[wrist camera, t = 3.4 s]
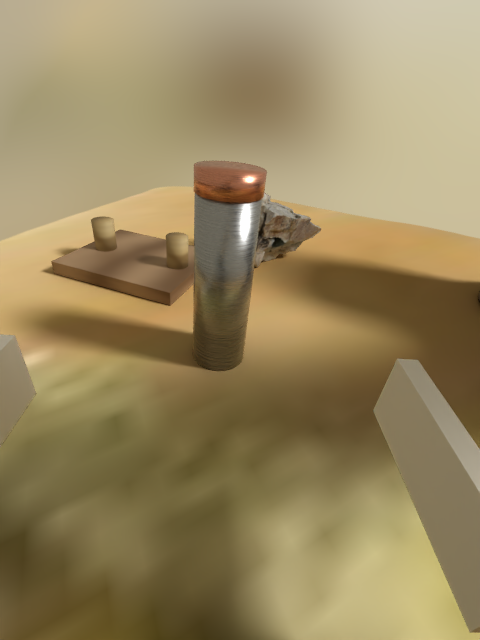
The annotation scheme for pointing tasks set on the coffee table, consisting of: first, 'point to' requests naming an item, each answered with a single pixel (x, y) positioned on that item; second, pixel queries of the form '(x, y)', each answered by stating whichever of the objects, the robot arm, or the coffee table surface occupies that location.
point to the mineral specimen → (280, 230)
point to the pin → (224, 258)
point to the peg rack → (132, 262)
